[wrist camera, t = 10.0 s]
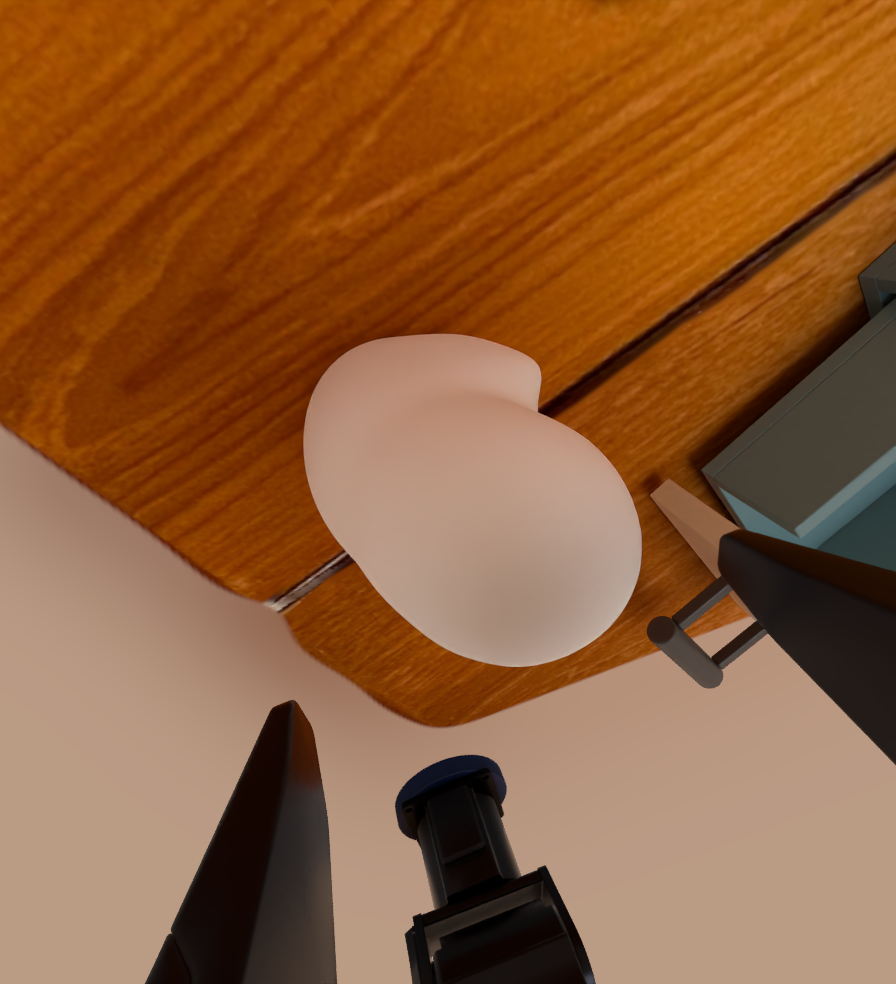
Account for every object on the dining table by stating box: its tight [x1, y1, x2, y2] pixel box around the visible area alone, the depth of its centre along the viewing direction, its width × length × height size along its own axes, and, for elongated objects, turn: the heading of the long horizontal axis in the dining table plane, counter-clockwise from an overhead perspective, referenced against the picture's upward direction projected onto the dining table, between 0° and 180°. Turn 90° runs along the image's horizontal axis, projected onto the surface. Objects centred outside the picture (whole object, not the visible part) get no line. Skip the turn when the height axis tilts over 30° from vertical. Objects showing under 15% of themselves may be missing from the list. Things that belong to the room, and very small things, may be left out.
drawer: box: [647, 298, 896, 688], centre depth 24 cm, size 20×12×6 cm, turn 132°
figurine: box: [303, 334, 642, 667], centre depth 15 cm, size 7×8×12 cm
